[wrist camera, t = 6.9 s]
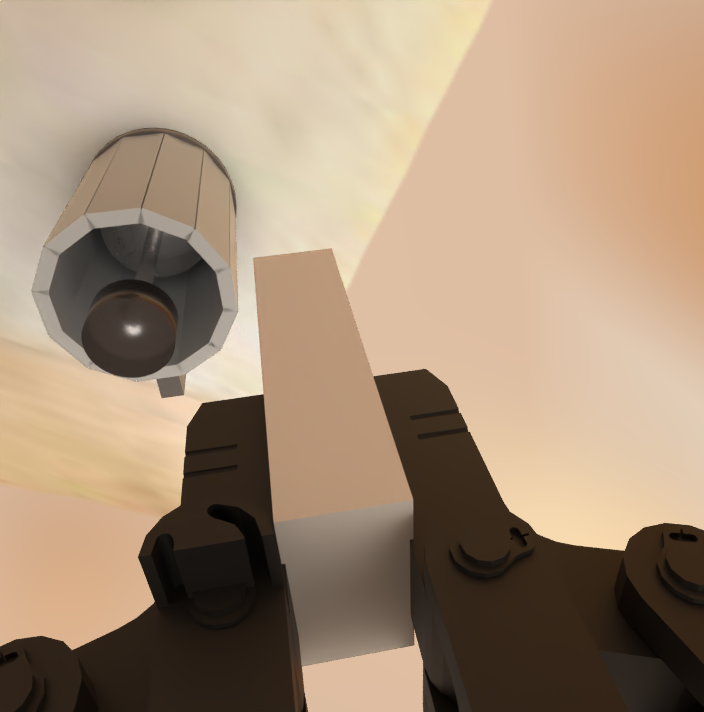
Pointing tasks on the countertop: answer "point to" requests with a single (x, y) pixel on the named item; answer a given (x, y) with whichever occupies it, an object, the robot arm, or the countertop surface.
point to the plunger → (137, 303)
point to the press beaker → (163, 212)
